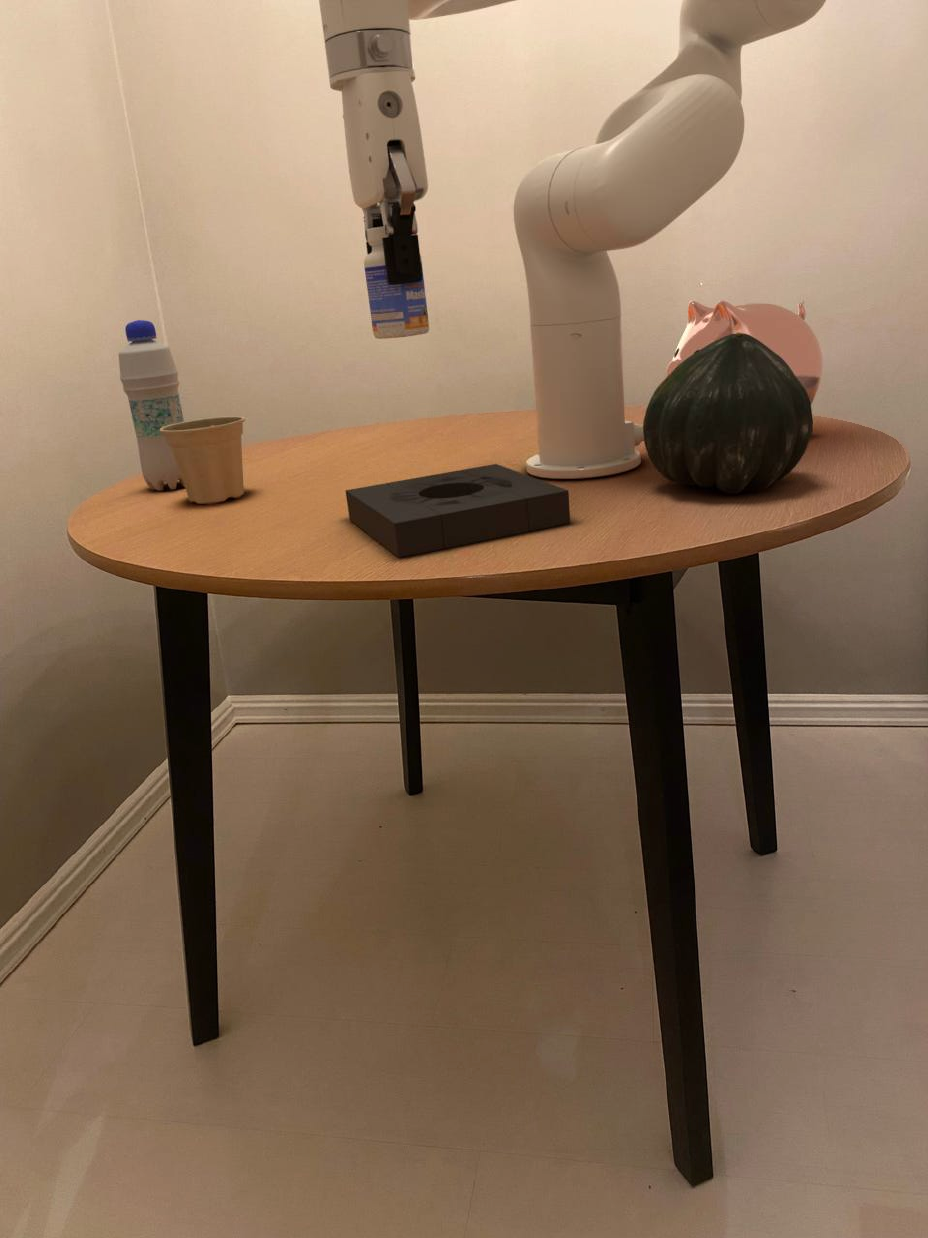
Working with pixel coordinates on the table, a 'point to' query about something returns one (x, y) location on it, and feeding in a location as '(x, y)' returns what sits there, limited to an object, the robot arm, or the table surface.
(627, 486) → the table surface
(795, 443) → the squash
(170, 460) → the bottle
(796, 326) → the piggy bank
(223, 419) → the flower pot
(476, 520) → the pad
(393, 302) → the pill bottle
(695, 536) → the table surface
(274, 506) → the table surface
